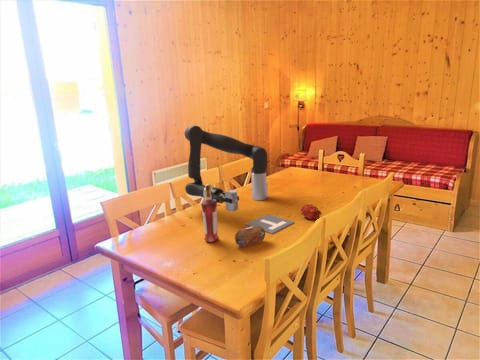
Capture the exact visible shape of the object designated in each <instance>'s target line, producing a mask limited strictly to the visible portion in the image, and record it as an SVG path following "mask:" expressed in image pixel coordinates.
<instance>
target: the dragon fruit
mask: <svg viewBox="0 0 480 360" xmlns="http://www.w3.org/2000/svg"><path fill="white" fill-rule="evenodd" d="M322 214H323V213H322V211H321V210H319V208H318V207H317V206H314V205H313V204H308V203H306V204H303V205H302V207H301V208H300V215H301V216H304V218H305V219H306V220H307V219H310V220H311V221H315V220H317V219H316V218H320V215H322Z"/></svg>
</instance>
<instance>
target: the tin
mask: <svg viewBox="0 0 480 360" xmlns="http://www.w3.org/2000/svg"><path fill="white" fill-rule="evenodd" d="M265 237H266V232H265V230H264V229H263V228H262V227H260V226H257V225H256V226H251V227H250V226H248V227H245V228H244V227H243V228H240V229H239V230H238V231H236V233H235V235H234V241H235V243H236V245H237V246H238V247H240V248H247V247H248V248H249V247H251V246H255V245H258V244H260V243H262V242H263V240H264V239H265Z"/></svg>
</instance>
